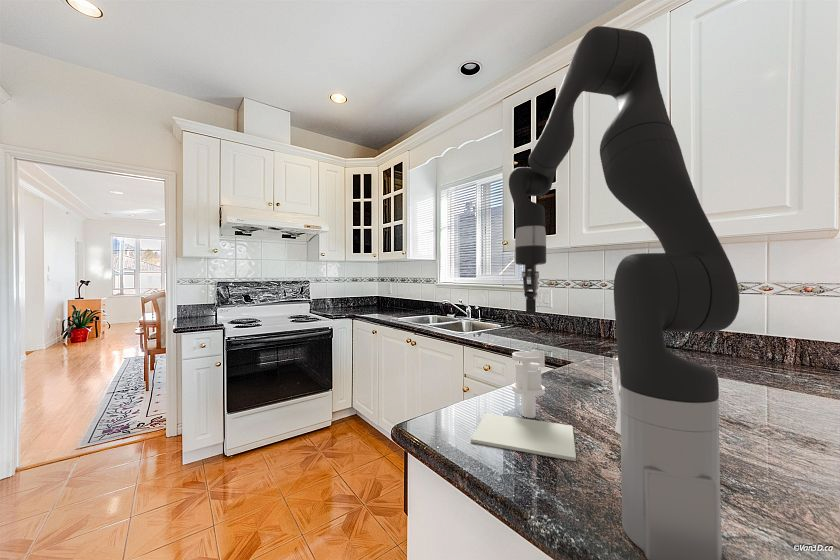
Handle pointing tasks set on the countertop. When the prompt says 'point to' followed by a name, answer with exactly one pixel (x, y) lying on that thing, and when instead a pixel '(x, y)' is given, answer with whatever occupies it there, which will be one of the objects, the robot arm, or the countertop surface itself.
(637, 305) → the robot arm
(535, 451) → the mat
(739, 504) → the countertop surface
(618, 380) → the beer glass
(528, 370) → the white stacked pillar
